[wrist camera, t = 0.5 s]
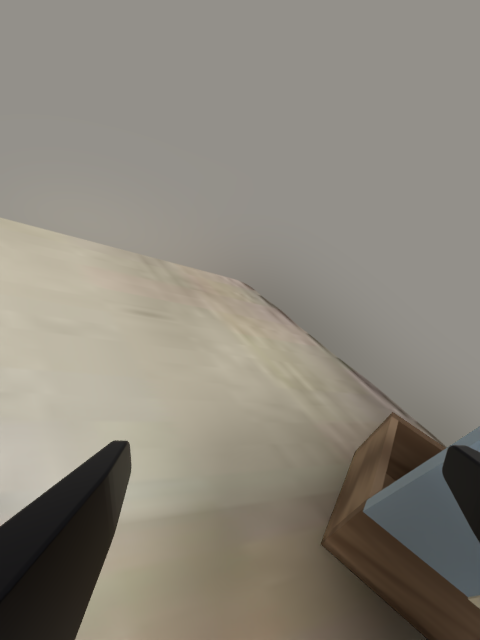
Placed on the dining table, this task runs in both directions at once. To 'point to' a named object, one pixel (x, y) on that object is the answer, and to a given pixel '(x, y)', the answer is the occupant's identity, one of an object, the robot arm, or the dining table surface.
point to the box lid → (432, 521)
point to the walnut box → (385, 550)
